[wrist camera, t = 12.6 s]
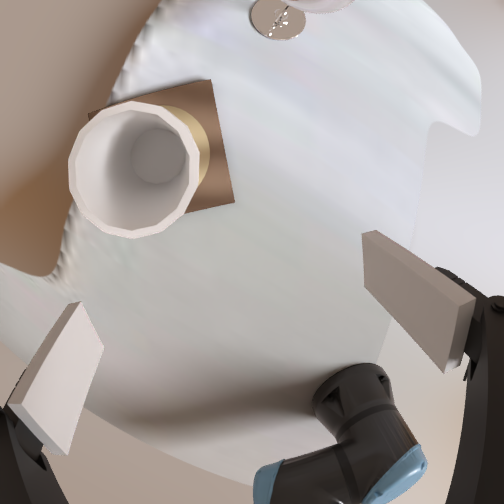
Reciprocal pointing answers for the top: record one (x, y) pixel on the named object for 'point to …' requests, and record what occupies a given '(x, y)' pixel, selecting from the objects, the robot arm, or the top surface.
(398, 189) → the top surface
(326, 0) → the wineglass
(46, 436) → the robot arm
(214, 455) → the top surface
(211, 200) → the stand board
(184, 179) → the foam cup
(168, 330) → the top surface
